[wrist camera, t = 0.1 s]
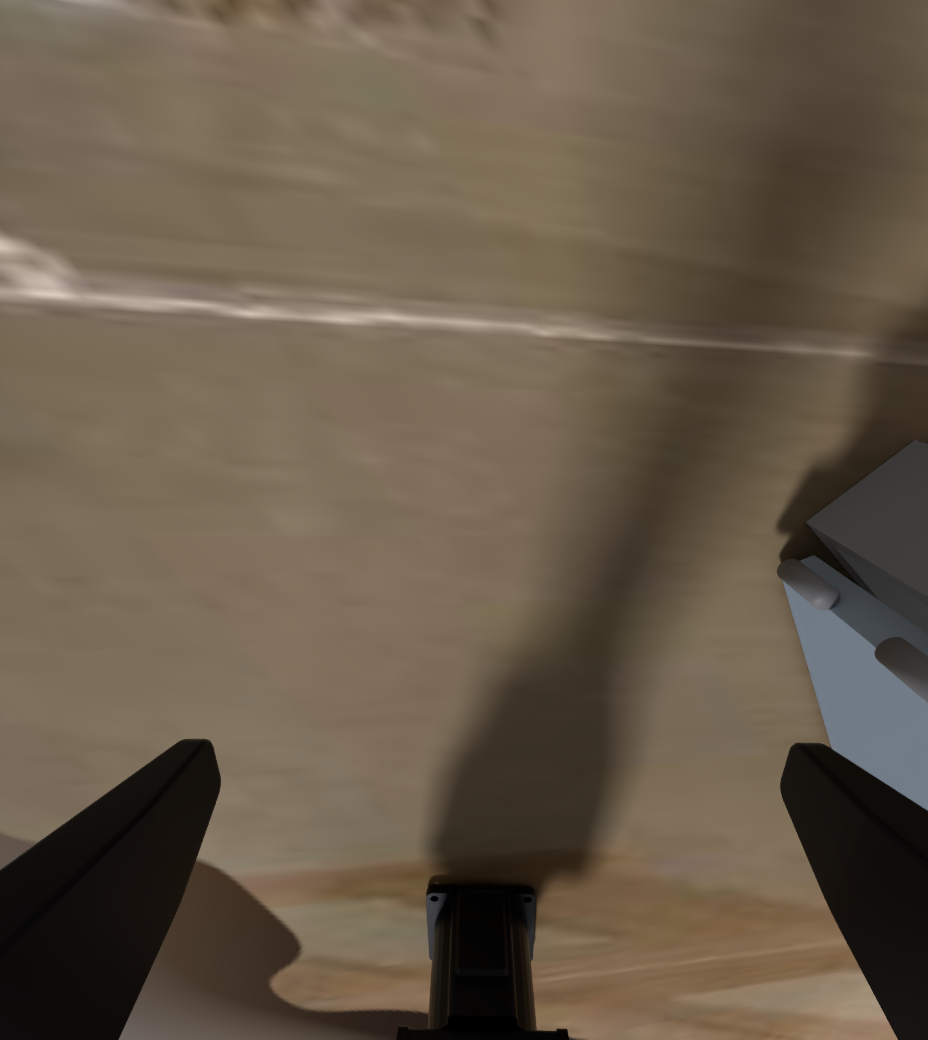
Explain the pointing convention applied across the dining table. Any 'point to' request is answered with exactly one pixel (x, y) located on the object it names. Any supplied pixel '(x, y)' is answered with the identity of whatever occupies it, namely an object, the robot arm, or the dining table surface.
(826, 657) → the door
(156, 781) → the robot arm
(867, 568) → the cabinet
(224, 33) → the dining table surface
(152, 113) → the dining table surface
